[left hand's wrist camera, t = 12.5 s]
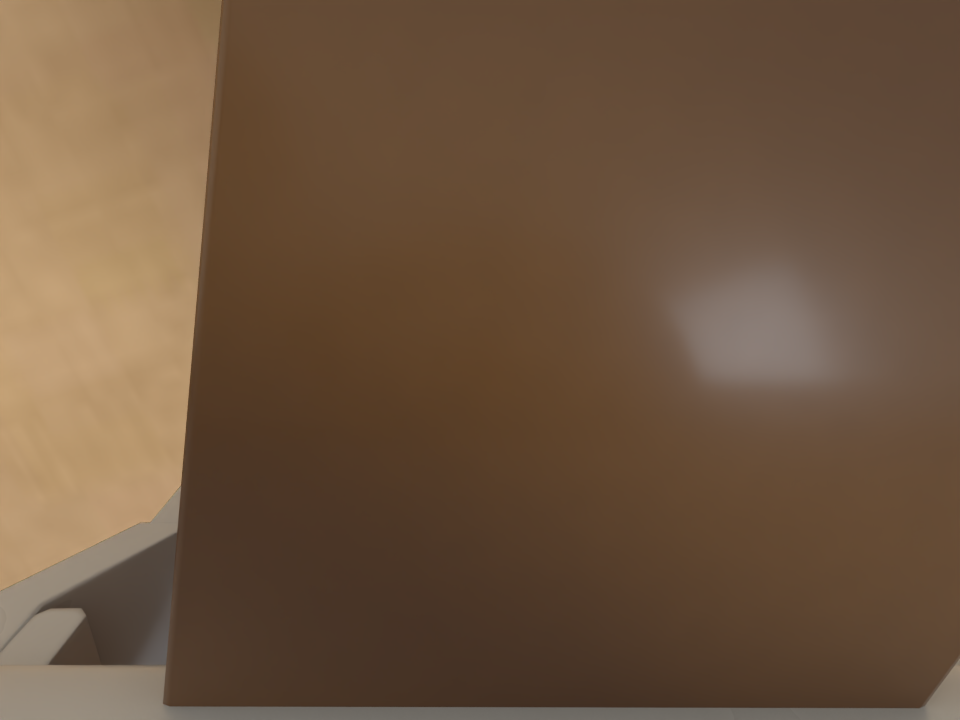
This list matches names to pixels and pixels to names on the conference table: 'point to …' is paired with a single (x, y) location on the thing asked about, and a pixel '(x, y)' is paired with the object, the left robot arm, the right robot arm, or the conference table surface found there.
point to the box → (575, 357)
